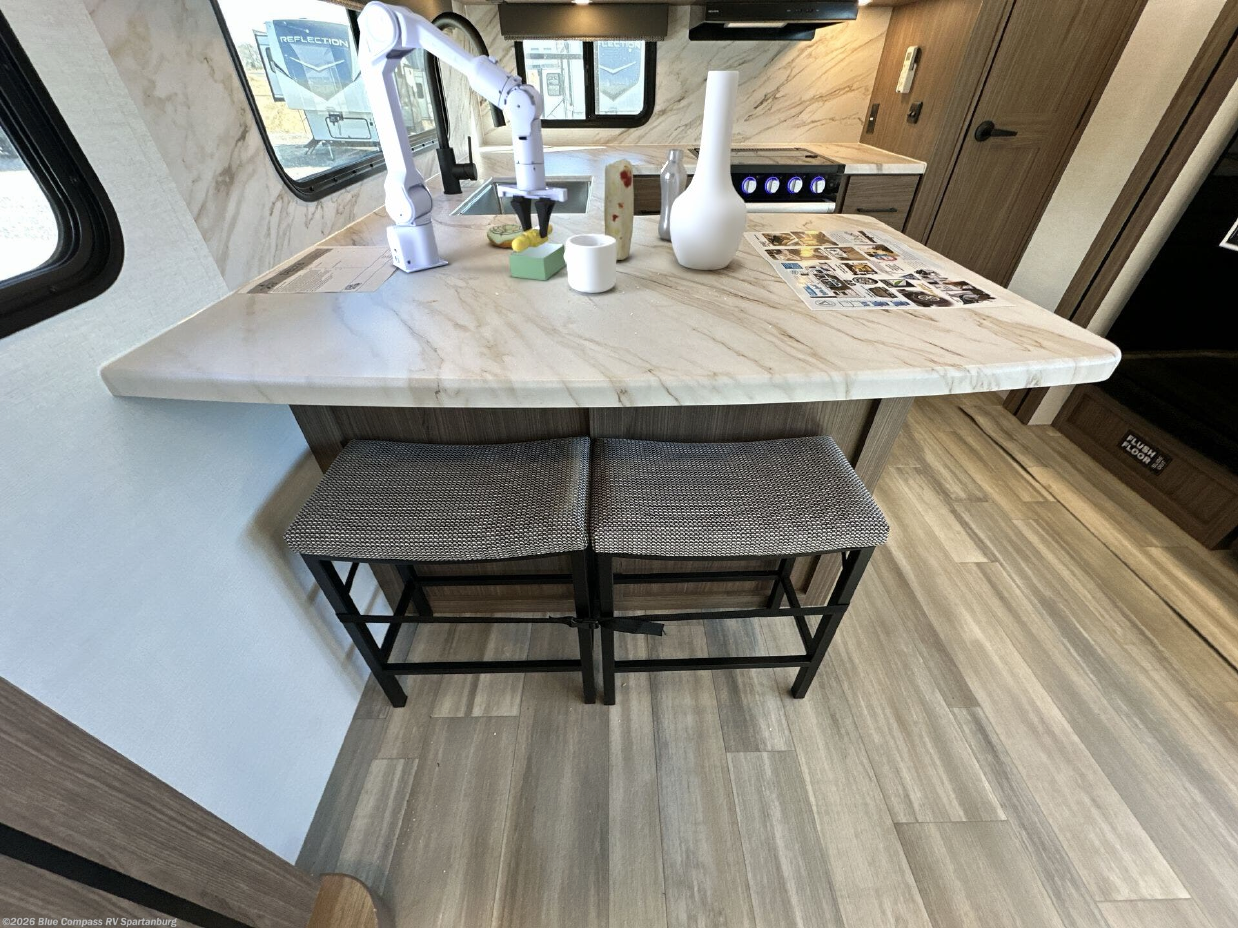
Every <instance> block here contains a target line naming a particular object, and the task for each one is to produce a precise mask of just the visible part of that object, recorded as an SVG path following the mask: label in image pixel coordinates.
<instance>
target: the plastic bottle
mask: <svg viewBox="0 0 1238 928" xmlns="http://www.w3.org/2000/svg"><path fill="white" fill-rule="evenodd" d="M666 155H667V156H666V159H667V162H666V163H665V165H664V166H663V167H662V169H661V171H660V175H659V177H660V178H659V179H660V189H661V190H660V191H661V207H660V214H659V220H658V226H657V233H658V235H659V237H660V238H661V239H663V240H667V241H668V240H669V241H671V234H670V214H671V209H672V206H673V203H674V202H675V200H676V199H677V198H678V197H679V196H680V195H681V194H682V193H683V192H684V191H686V186H687V185H686V184H687V180H688V173H687V170H686V167H685V165H684V164H683V160H684V149H680V148H669V149H667V154H666Z"/></svg>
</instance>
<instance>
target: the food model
mask: <svg viewBox="0 0 1238 928" xmlns="http://www.w3.org/2000/svg"><path fill="white" fill-rule="evenodd" d="M634 198H635V197H634V174H633V164H632V163H631V161H630V160H629V159H627V158H622V159H619V160H615V161H613V162H612V163H608V165H607V164H605V167H604V201H603V215H604V217H603V218H604V219H603V220H604V235H607V236H611V237H613V238H614V239H615V240H616V261H619V260H621V261H622V260H625V259H626V258H628V256H629V254H630V251H631V244H632V238H633V232H634V218H635V217H634V216H635V215H634V212H635V211H634V206H635V205H634V201H635V200H634Z"/></svg>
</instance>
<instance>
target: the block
mask: <svg viewBox="0 0 1238 928" xmlns="http://www.w3.org/2000/svg"><path fill="white" fill-rule="evenodd" d="M565 251H566V249H565V244H561V243H550V242H545V243H543V244H542V245H540V246H539V247H537V248H536V247H528V248H527V249H525V250H523V251H522V252H516V251H515V250H514V251H513V252H512V253H510V254H508V260H509V268H510V276H511V277H513V278H521V279H528V280H536V281H547V280H548V279H550V278H551V277H553V276H554V275H555V274H556V273H558V272H559V271H560V270H561V269H563V268H564V267H565V266H566V261H565V259H564V253H565Z"/></svg>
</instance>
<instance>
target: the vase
mask: <svg viewBox="0 0 1238 928" xmlns="http://www.w3.org/2000/svg"><path fill="white" fill-rule="evenodd" d="M706 79H707V80H706V89H705V101H704V112H703V119H702V120H703V122H702V131H701V138H700V147H699V154H698V158H697V164H696V167H695V172H694V175H693V177H692V179H691V182H690V183H689V185H688V187H687V188H685V191H684V192H683V193H682V194H681V195H680V196H679V197H678V198H677V199H676V200H675V202H674V203H673V206H672V209H671V214H670V234H671V240H670V241H671V245H672V249H673V253H674V255H675V257H676V259H677V261H678V264H680V265H681V266H682V267H686V268H689V269H692V270H700V271H713V270H714V271H715V270H716V271H717V270H720V269H725V268H726V267H728V266H729V264H730V263H731V262H732V260H733V258H734V257H735V256H736V254H737V252H738V249H739V247H740V245H741V243H742V240H743V237H744V234H745V231H746V226H747V222H748V221H747V220H748V209H747V205H746V203H745V200H744V199H743V198H742V196H740V194H738V191H736V188H735V187H734V185H733V181H732V176H731V175H732V174H731V154H732V153H731V151H732V140H733V129H734V121H735V114H736V104H737V97H738V90H739V82H740V81H739V80H740V71H738V70H708V73H707V78H706Z"/></svg>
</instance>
